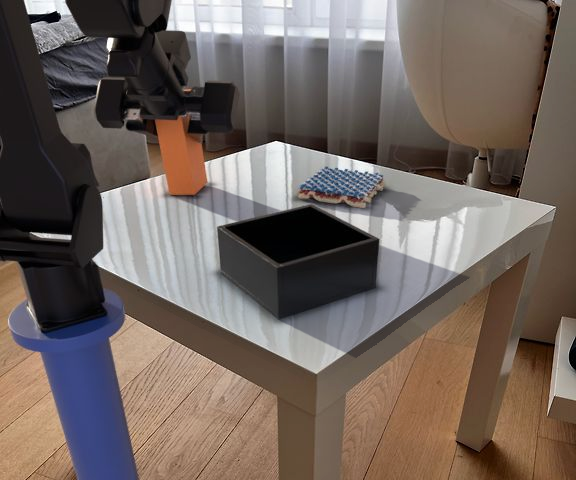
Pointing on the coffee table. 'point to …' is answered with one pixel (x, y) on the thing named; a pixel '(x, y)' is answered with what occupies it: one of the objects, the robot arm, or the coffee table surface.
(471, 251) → the coffee table surface
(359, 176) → the woven mat
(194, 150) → the block
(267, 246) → the bin
